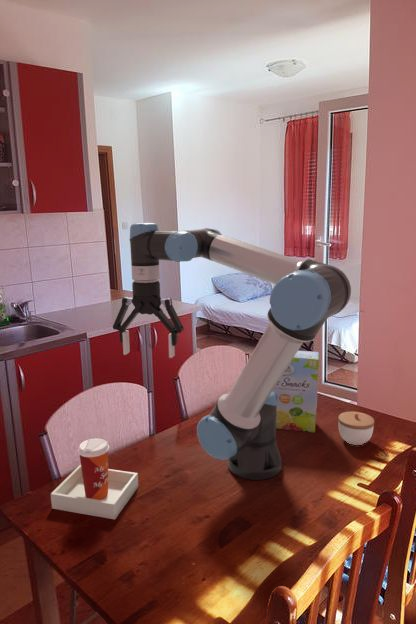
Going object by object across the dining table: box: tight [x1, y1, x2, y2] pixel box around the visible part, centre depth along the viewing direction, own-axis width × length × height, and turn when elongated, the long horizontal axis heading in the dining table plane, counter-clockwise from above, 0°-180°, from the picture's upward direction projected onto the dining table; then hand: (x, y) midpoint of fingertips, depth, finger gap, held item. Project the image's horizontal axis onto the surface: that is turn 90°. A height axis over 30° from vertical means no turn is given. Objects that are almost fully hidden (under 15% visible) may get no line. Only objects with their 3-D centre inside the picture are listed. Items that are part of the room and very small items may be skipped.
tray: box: [50, 464, 139, 520], centre depth 122 cm, size 17×14×4 cm
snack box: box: [273, 350, 320, 433], centre depth 159 cm, size 22×9×26 cm, turn 77°
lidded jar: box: [337, 411, 375, 446], centre depth 149 cm, size 11×11×9 cm
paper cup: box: [77, 437, 110, 500], centre depth 121 cm, size 8×8×14 cm
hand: (149, 355), depth 135 cm, fingers open, 13 cm apart
